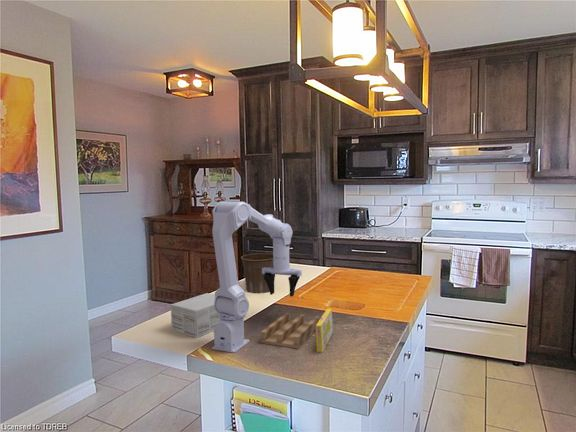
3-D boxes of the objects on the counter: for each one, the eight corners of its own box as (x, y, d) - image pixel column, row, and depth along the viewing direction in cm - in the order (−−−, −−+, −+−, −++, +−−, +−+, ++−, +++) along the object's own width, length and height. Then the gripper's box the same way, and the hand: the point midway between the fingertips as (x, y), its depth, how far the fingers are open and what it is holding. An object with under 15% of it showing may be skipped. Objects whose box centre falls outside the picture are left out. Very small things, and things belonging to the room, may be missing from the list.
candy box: (326, 332, 133) (326, 308, 132) (333, 333, 132) (333, 308, 131) (315, 352, 117) (315, 324, 116) (322, 353, 116) (322, 325, 116)
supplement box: (207, 316, 151) (206, 292, 150) (233, 323, 143) (232, 297, 142) (170, 330, 137) (169, 303, 136) (196, 338, 129) (195, 310, 129)
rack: (298, 348, 119) (298, 337, 119) (260, 342, 124) (260, 331, 124) (319, 326, 138) (319, 316, 137) (286, 322, 143) (286, 312, 142)
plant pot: (268, 296, 176) (267, 260, 174) (235, 293, 181) (234, 258, 180) (281, 287, 191) (281, 254, 190) (251, 285, 196) (250, 252, 195)
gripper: (304, 256, 143) (305, 293, 144) (267, 254, 148) (268, 290, 149) (297, 259, 136) (297, 299, 137) (259, 257, 142) (259, 295, 143)
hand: (281, 294), depth 143 cm, fingers open, 7 cm apart
